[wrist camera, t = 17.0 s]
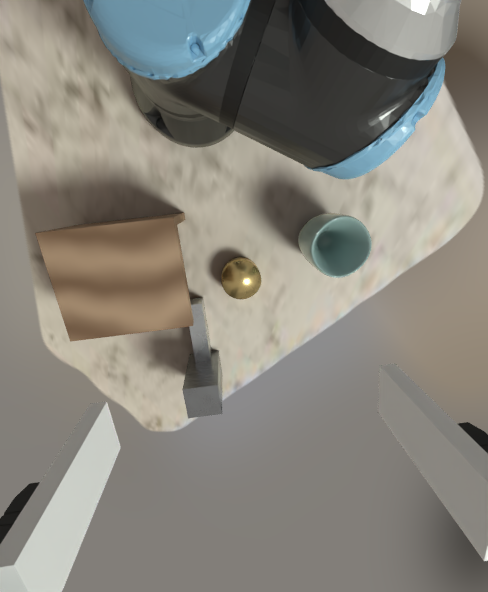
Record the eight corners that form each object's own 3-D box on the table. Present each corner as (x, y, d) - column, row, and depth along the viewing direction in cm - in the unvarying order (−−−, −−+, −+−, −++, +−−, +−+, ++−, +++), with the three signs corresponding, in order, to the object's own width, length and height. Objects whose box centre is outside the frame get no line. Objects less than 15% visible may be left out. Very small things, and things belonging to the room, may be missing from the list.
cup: (322, 200, 45) (348, 201, 36) (351, 238, 48) (383, 249, 38) (283, 236, 47) (298, 246, 37) (313, 271, 49) (335, 289, 39)
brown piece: (75, 225, 44) (35, 233, 35) (184, 212, 45) (173, 217, 35) (100, 313, 49) (70, 341, 39) (198, 301, 49) (192, 326, 40)
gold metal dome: (219, 259, 47) (219, 263, 45) (257, 255, 48) (259, 259, 45) (223, 295, 49) (223, 301, 46) (260, 291, 50) (262, 297, 47)
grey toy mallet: (179, 300, 49) (169, 325, 39) (210, 296, 49) (207, 320, 40) (194, 379, 54) (188, 418, 44) (222, 375, 54) (222, 413, 44)
